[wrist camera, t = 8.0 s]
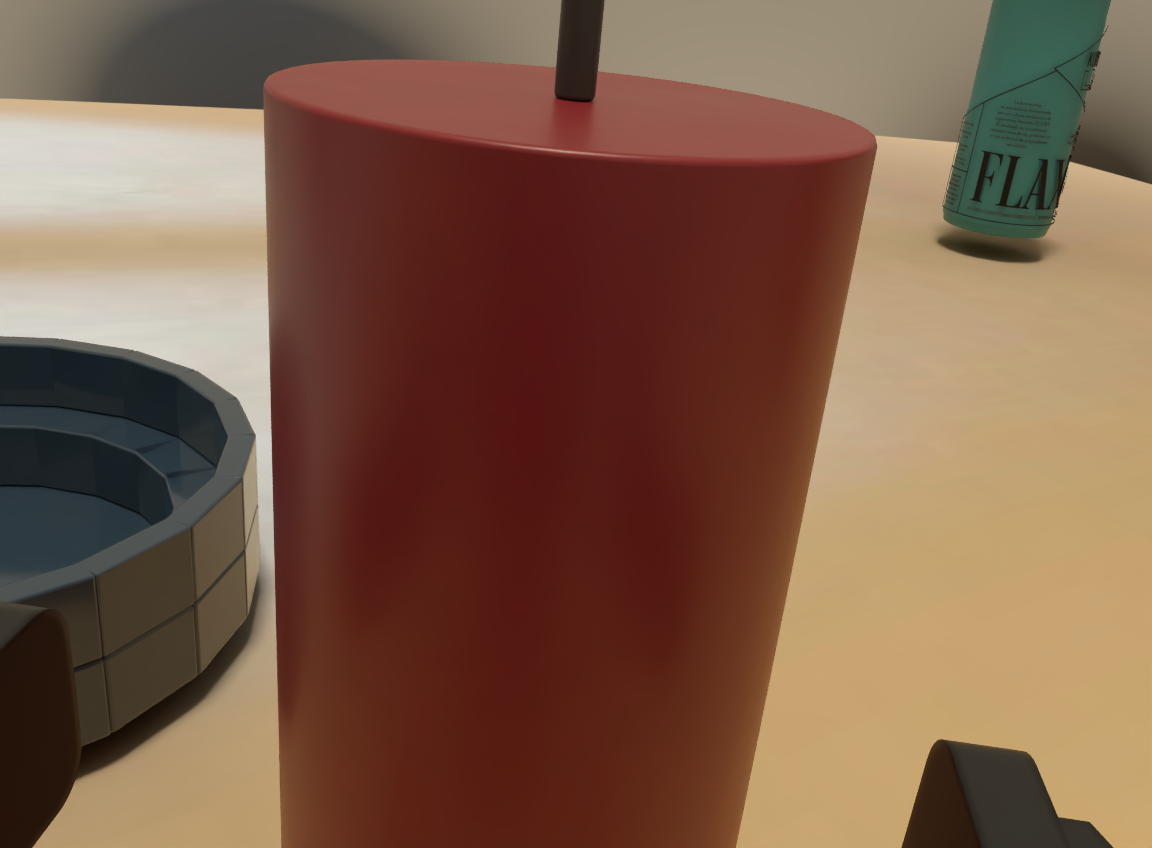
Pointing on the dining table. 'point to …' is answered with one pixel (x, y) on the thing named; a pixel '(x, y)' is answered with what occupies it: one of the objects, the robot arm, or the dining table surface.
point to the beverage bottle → (1024, 115)
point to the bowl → (125, 516)
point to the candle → (540, 439)
